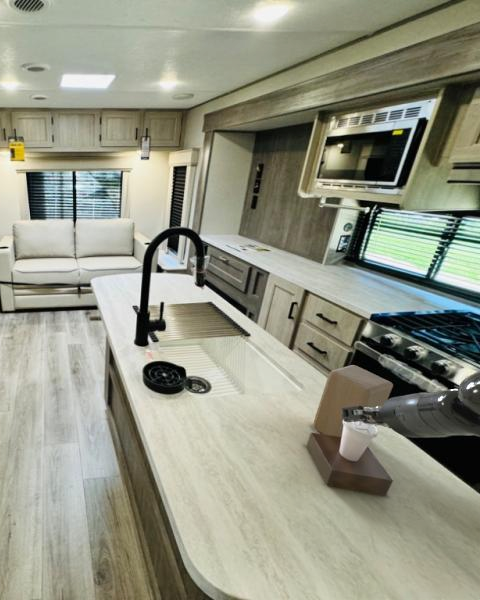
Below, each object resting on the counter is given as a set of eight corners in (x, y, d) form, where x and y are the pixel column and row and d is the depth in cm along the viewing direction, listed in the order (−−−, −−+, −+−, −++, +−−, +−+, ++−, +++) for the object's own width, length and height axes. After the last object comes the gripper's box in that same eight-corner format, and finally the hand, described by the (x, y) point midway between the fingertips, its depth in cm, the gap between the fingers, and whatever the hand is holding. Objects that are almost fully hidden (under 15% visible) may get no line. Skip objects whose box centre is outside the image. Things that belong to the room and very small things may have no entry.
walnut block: (357, 454, 83) (363, 440, 81) (385, 496, 72) (393, 480, 71) (306, 446, 86) (310, 432, 84) (326, 485, 75) (332, 470, 73)
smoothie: (326, 449, 79) (342, 405, 74) (342, 441, 81) (358, 397, 76) (356, 469, 73) (375, 423, 68) (371, 460, 76) (391, 414, 71)
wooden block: (334, 418, 96) (353, 362, 88) (371, 442, 87) (396, 383, 79) (310, 426, 93) (328, 370, 85) (346, 452, 84) (369, 391, 77)
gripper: (464, 400, 57) (400, 408, 72) (372, 389, 61) (328, 398, 75) (477, 444, 54) (407, 443, 69) (379, 430, 58) (332, 432, 72)
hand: (366, 420), depth 72 cm, fingers open, 8 cm apart
